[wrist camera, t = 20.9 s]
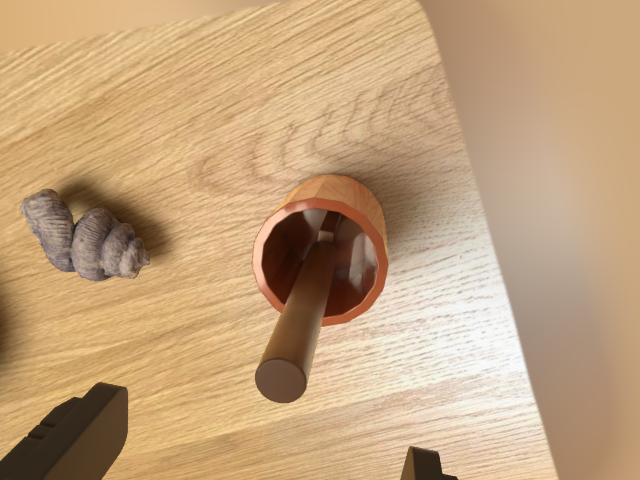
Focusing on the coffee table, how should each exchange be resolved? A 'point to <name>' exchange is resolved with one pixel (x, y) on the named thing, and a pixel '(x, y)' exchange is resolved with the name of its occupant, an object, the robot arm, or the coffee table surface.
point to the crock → (302, 232)
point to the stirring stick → (300, 321)
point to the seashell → (84, 239)
